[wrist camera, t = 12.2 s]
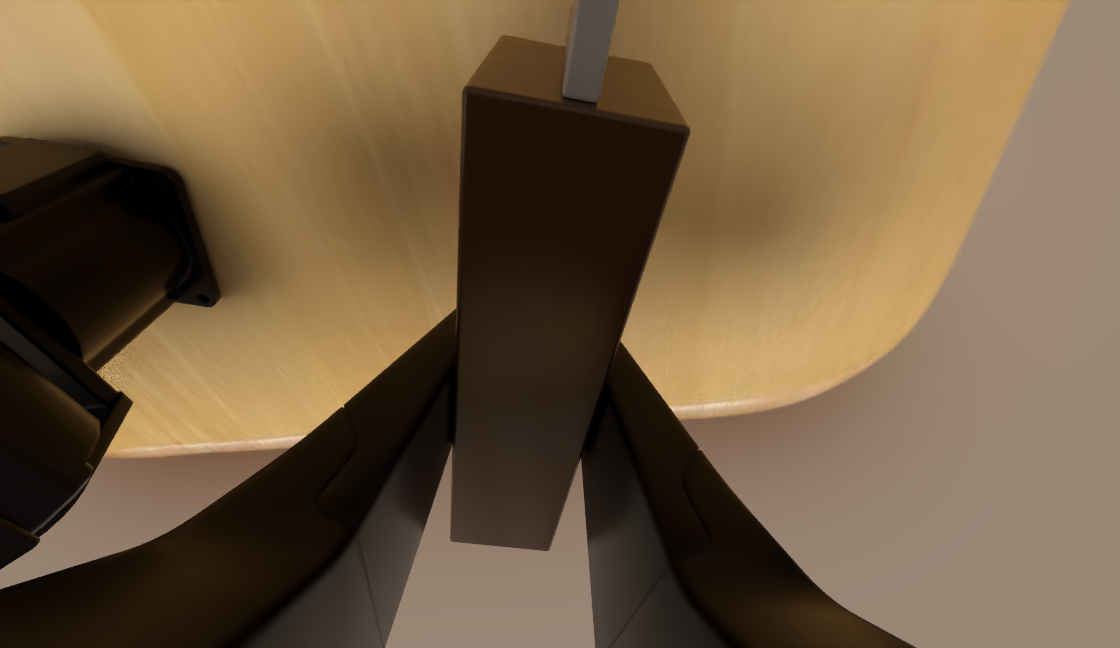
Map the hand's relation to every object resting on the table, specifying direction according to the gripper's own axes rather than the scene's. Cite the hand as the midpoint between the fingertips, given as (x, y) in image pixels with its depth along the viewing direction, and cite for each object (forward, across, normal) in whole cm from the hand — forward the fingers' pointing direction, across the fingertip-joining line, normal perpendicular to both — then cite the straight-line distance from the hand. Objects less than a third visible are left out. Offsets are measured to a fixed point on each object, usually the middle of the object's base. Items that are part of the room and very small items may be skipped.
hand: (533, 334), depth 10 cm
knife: (+1, 0, -5) cm, 5 cm away
